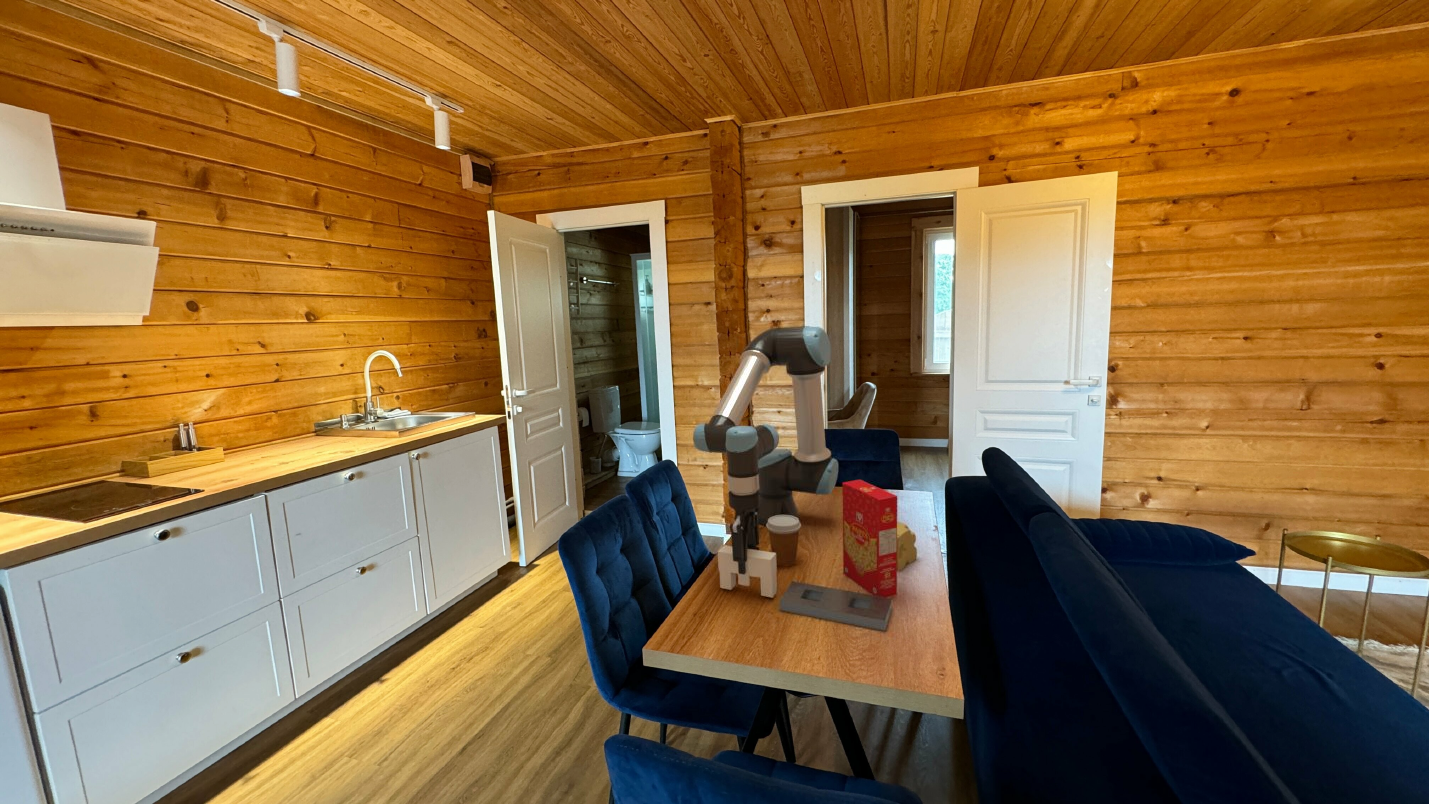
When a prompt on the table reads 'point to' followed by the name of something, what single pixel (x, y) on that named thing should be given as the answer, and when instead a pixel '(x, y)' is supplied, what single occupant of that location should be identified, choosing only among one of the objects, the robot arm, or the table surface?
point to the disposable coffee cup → (784, 538)
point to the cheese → (905, 546)
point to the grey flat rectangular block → (837, 605)
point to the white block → (759, 566)
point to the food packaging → (870, 537)
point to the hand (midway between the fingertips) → (747, 579)
